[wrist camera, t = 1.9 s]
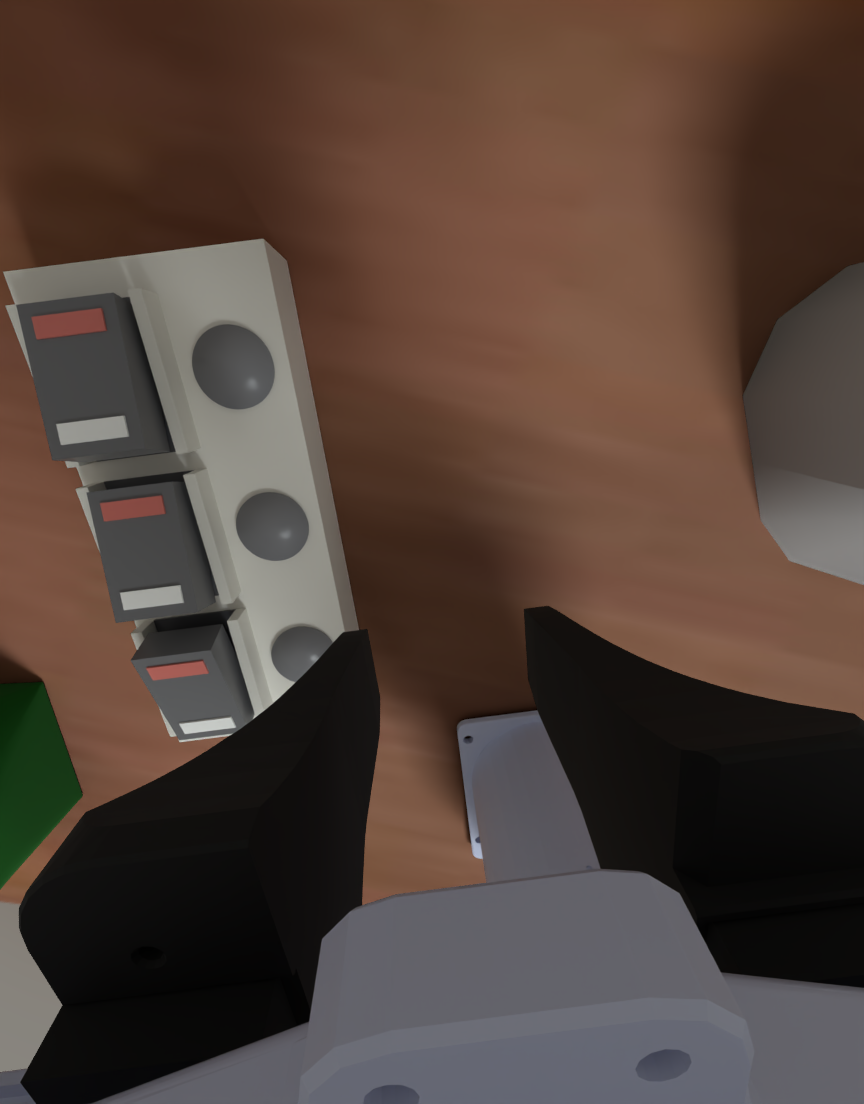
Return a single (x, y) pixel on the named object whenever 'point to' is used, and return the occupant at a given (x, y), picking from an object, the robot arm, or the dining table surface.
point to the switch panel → (229, 446)
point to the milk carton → (30, 774)
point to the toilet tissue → (813, 428)
